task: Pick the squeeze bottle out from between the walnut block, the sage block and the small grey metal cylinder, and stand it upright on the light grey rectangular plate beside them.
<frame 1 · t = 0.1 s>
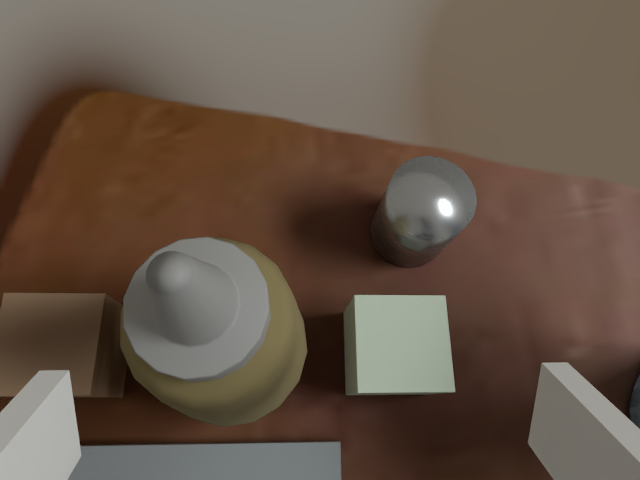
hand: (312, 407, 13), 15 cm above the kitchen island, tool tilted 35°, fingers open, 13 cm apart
sage block: (384, 352, 29), on the kitchen island
grey metal cylinder: (406, 232, 32), on the kitchen island
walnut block: (86, 353, 28), on the kitchen island
squeeze bottle: (238, 353, 28), on the kitchen island
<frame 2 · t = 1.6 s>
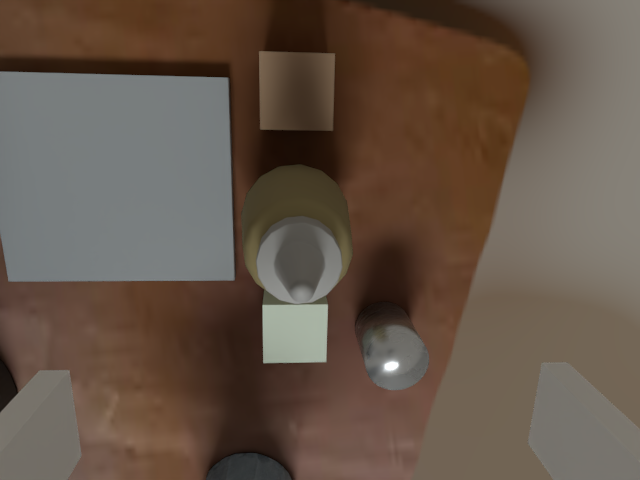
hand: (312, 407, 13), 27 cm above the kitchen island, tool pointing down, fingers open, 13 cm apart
sage block: (294, 307, 41), on the kitchen island
grey metal cylinder: (382, 327, 42), on the kitchen island
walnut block: (295, 93, 36), on the kitchen island
squeeze bottle: (294, 207, 39), on the kitchen island
light grey rectangular plate: (118, 181, 37), on the kitchen island
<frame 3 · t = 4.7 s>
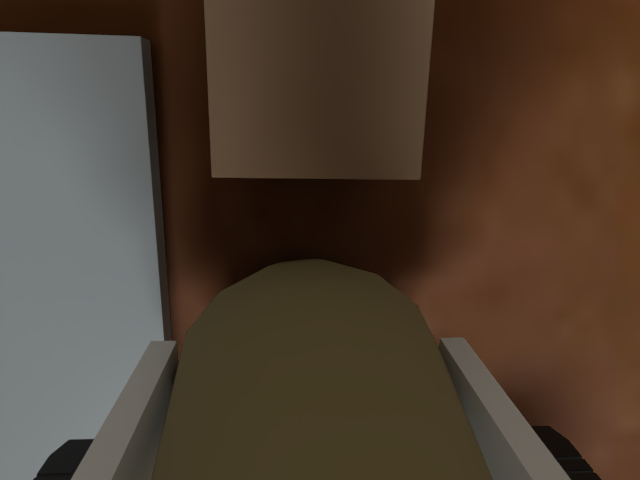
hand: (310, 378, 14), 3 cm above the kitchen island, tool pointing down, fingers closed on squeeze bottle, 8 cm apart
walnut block: (309, 79, 15), on the kitchen island
squeeze bottle: (306, 327, 18), on the kitchen island, touching gripper
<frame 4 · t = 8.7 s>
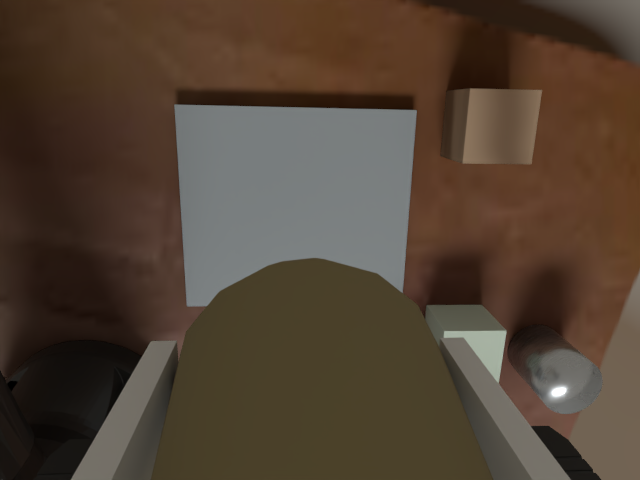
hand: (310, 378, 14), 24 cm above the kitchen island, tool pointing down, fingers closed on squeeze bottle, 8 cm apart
sage block: (451, 330, 42), on the kitchen island
grey metal cylinder: (533, 349, 43), on the kitchen island
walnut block: (473, 124, 37), on the kitchen island
squeeze bottle: (306, 327, 18), point 21 cm above the kitchen island, touching gripper
light grey rectangular plate: (296, 209, 38), on the kitchen island
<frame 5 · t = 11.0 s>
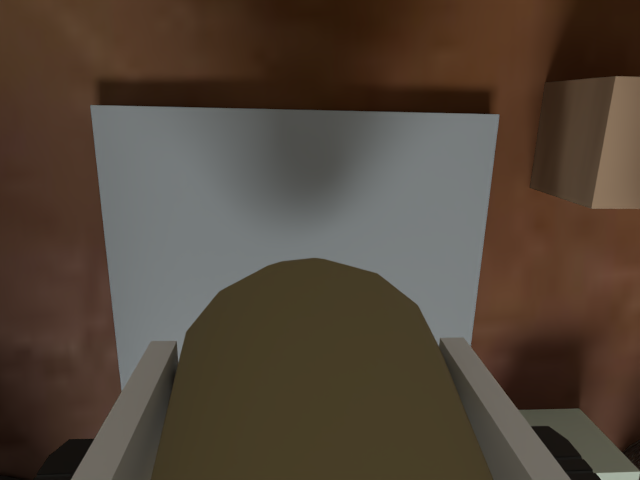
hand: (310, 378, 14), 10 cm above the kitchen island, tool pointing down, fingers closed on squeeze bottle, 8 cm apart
sage block: (531, 444, 28), on the kitchen island
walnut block: (585, 137, 23), on the kitchen island
squeeze bottle: (306, 327, 18), point 6 cm above the kitchen island, touching gripper
light grey rectangular plate: (299, 273, 24), on the kitchen island
when the fingers open (6 cm above the kitchen island, at t = 12.8 s): squeeze bottle drops 1 cm, resting on light grey rectangular plate.
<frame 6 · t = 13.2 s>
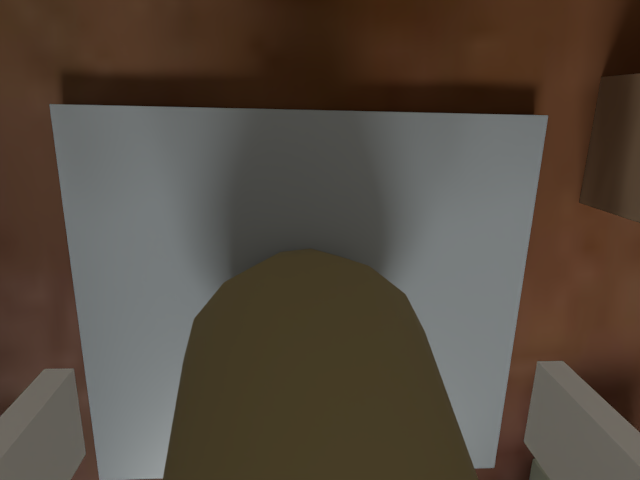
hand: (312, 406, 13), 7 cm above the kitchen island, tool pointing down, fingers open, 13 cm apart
squeeze bottle: (302, 312, 19), point 1 cm above the kitchen island, touching light grey rectangular plate
light grey rectangular plate: (304, 303, 20), on the kitchen island
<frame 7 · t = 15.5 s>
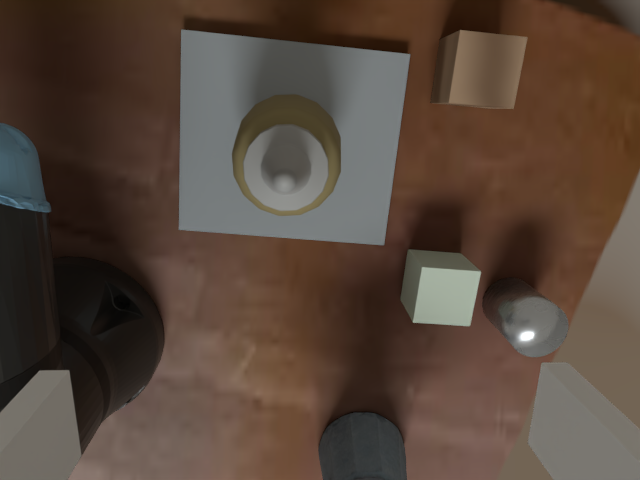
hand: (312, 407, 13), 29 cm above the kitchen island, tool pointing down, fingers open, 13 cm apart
sage block: (429, 276, 44), on the kitchen island
grey metal cylinder: (507, 301, 45), on the kitchen island
moka pot: (363, 443, 49), on the kitchen island
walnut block: (463, 74, 39), on the kitchen island
squeeze bottle: (289, 144, 39), point 1 cm above the kitchen island, touching light grey rectangular plate
light grey rectangular plate: (290, 144, 40), on the kitchen island
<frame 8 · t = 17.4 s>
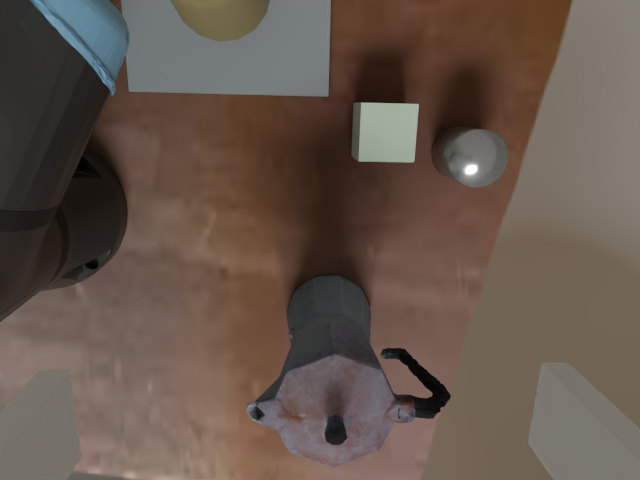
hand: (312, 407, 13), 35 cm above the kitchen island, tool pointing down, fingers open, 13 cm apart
sage block: (377, 130, 45), on the kitchen island
grey metal cylinder: (456, 152, 46), on the kitchen island
moka pot: (331, 309, 50), on the kitchen island
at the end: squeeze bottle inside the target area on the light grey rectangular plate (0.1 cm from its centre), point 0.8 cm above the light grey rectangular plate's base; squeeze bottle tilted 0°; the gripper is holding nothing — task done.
